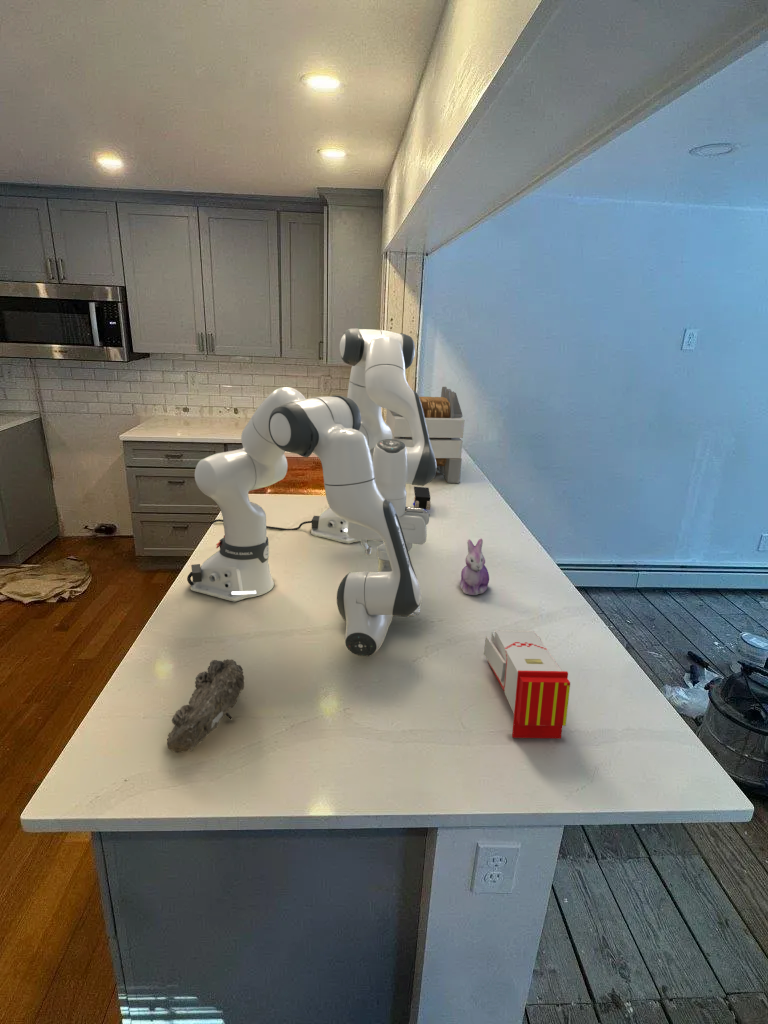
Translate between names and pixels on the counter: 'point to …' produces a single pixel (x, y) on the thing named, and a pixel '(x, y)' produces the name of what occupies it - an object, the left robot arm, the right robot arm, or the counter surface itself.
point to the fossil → (206, 705)
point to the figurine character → (422, 498)
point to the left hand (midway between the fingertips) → (387, 585)
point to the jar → (384, 566)
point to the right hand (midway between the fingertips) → (385, 555)
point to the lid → (382, 552)
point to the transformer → (437, 431)
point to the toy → (529, 683)
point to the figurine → (474, 571)
